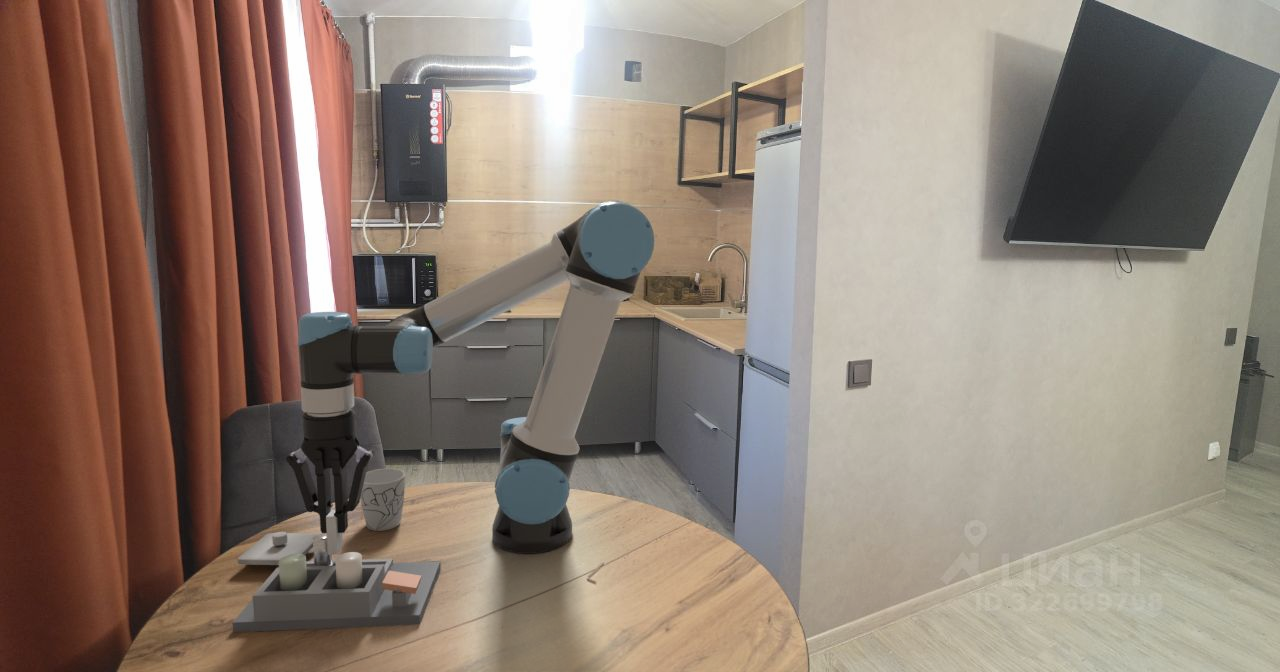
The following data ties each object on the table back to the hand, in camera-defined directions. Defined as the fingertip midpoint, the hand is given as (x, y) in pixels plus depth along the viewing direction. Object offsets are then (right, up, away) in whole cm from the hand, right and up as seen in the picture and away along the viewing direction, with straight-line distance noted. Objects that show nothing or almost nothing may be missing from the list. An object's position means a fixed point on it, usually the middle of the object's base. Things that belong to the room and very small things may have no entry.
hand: (335, 550), depth 107 cm
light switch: (-13, -4, +7) cm, 16 cm away
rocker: (+13, -3, -7) cm, 15 cm away
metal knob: (-2, -4, 0) cm, 4 cm away
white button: (+6, -2, -8) cm, 10 cm away
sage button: (-2, -2, -9) cm, 9 cm away
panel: (+3, -6, -4) cm, 8 cm away
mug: (-1, -2, +24) cm, 24 cm away
